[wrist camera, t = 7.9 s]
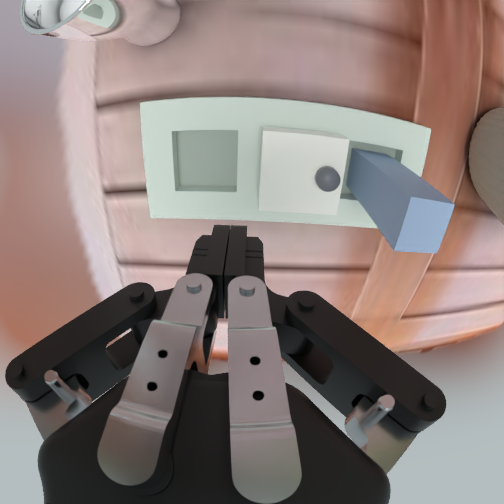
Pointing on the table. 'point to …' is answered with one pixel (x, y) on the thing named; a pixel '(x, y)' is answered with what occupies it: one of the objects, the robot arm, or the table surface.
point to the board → (253, 154)
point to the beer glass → (102, 19)
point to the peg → (399, 202)
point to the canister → (489, 160)
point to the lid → (301, 170)
